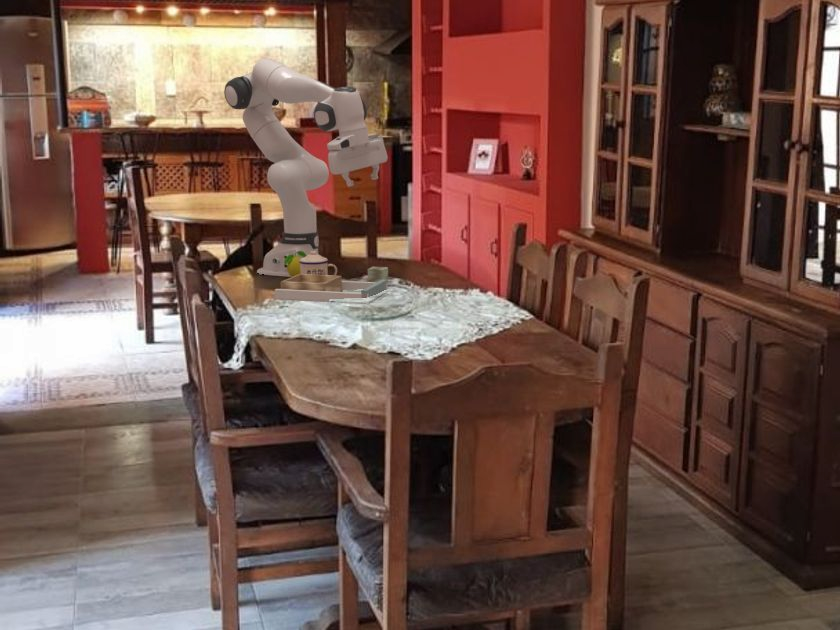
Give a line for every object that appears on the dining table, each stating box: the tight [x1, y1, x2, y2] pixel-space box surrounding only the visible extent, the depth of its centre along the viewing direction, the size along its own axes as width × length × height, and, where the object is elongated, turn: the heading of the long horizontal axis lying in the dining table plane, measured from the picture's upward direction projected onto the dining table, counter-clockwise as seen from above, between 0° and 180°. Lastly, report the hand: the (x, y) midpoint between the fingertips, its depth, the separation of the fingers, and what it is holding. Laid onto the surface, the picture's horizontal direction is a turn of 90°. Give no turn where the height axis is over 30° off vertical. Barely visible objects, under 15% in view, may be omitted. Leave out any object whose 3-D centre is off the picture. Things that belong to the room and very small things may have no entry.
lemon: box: [284, 251, 306, 276], centre depth 359 cm, size 7×6×10 cm
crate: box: [280, 274, 343, 292], centre depth 325 cm, size 14×14×5 cm
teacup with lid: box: [299, 251, 338, 276], centre depth 343 cm, size 12×9×12 cm
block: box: [367, 266, 389, 284], centre depth 338 cm, size 5×5×7 cm
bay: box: [274, 279, 389, 303], centre depth 324 cm, size 29×19×5 cm, turn 73°
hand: (362, 182), depth 340 cm, fingers open, 8 cm apart
